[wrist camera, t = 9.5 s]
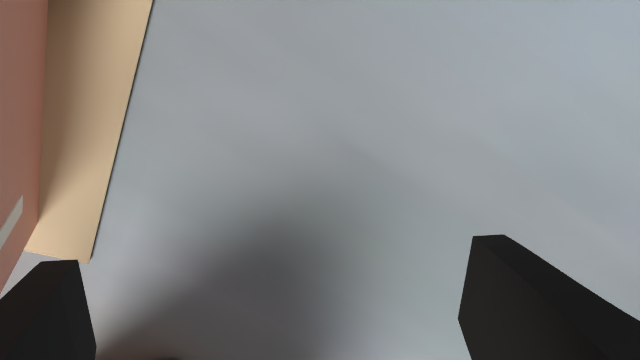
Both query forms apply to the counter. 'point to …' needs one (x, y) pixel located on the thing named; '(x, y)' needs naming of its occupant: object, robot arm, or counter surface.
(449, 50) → the counter surface
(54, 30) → the cork mat
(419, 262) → the counter surface
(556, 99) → the counter surface
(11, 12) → the pink block
